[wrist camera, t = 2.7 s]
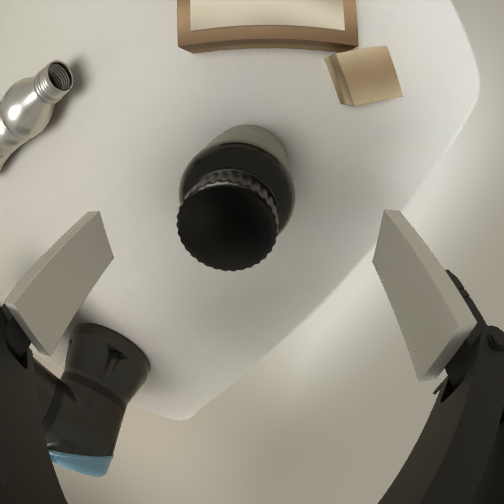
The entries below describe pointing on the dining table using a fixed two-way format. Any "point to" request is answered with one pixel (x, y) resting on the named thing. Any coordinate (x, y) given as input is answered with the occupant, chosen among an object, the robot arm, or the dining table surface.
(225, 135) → the supplement bottle
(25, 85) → the plastic bottle
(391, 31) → the dining table surface
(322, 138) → the dining table surface
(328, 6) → the base
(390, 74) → the beech cube
